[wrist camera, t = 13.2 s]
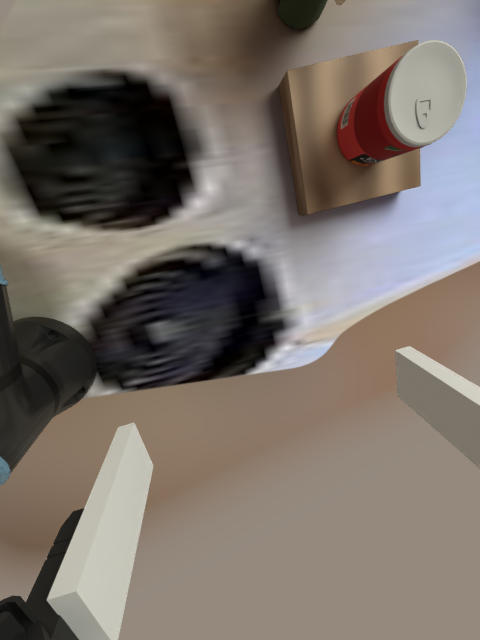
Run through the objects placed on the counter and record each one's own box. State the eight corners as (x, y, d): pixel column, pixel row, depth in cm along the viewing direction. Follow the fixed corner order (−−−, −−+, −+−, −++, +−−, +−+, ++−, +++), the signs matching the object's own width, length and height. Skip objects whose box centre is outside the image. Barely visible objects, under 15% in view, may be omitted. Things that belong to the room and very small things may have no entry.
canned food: (345, 178, 37) (400, 160, 27) (325, 111, 35) (377, 64, 24) (399, 150, 37) (474, 122, 27) (382, 82, 35) (460, 21, 24)
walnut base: (298, 215, 42) (308, 214, 38) (278, 86, 37) (287, 70, 33) (401, 189, 43) (420, 186, 39) (396, 58, 37) (418, 40, 34)
